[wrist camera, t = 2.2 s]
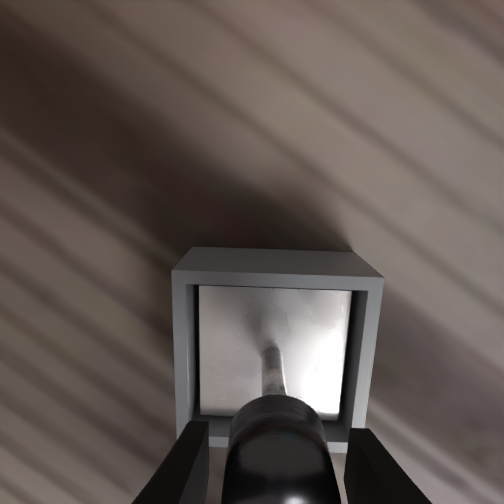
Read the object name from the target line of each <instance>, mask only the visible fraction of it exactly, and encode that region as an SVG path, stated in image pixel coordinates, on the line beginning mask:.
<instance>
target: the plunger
mask: <svg viewBox="0 0 504 504" xmlns="http://www.w3.org/2000/svg"><path fill="white" fill-rule="evenodd" d="M351 294H352V291H351V290H338V289H311V288H284V287H256V286H229V285H202V284H200V285H199V323H200V415H220V416H234V418H233V420H232V422H231V426H230V432H229V440H228V449H227V457H226V466H225V474H224V482H223V491H222V500H221V504H341V498H340V493H339V489H338V485H337V481H336V477H335V473H334V469H333V465H332V461H331V457H330V452H329V448H328V444H327V440H326V436H325V432H324V428H323V425H322V422H321V420H334V421H338V413H339V403H340V394H341V385H342V376H343V367H344V358H345V349H346V340H347V331H348V321H349V312H350V303H351Z"/></svg>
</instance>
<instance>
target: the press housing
mask: <svg viewBox="0 0 504 504" xmlns="http://www.w3.org/2000/svg"><path fill="white" fill-rule="evenodd" d="M171 277H172V308H173V340H174V371H175V403H176V434H177V439H178V438H179V436H180V434H181V433H182V431H183V429H184V428H185V426H186V424H187V423H188V422H189V421H209V447H227V448H228V440H229V432H230V426H231V422H232V420H233V418H234V416H220V415H200V323H199V285H200V284H202V285H229V286H256V287H284V288H311V289H338V290H351V291H352V294H351V303H350V312H349V321H348V331H347V340H346V349H345V358H344V367H343V376H342V385H341V394H340V403H339V413H338V421H334V420H321V422H322V425H323V428H324V432H325V436H326V440H327V444H328V448H329V452H336V453H347V447H348V438H349V430H350V428H364V427H365V419H366V412H367V404H368V397H369V389H370V382H371V374H372V367H373V359H374V352H375V344H376V337H377V330H378V322H379V315H380V307H381V300H382V292H383V285H384V277H383V276H382V275H381V274H380V273H378V272H377V271H376V270H375V269H374V268H373V267H371V266H370V265H369V264H368V263H367V262H365V261H364V260H363V259H362V258H361V257H360V256H358V255H357V254H356V253H355V252H339V251H310V250H281V249H252V248H223V247H194V246H193V247H192V248H191V249H190V250H189V251H188V252H187V253H186V254H185V256H184V257H183V258H182V259H181V260H180V261H179V262H178V263H177V264H176V265H175V266H174V268H173V269H172V270H171Z"/></svg>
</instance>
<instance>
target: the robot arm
mask: <svg viewBox="0 0 504 504" xmlns="http://www.w3.org/2000/svg"><path fill="white" fill-rule="evenodd" d="M208 477H209V421H189V422H188V423H187V424H186V426H185V428H184V429H183V431H182V433H181V434H180V436H179V438H178V439H177V441H176V443H175V444H174V446H173V447H172V449H171V450H170V452H169V453H168V455H167V457H166V458H165V459H164V461H163V462H162V464H161V465H160V467H159V468H158V469H157V471H156V472H155V474H154V475H153V476H152V478H151V479H150V481H149V482H148V483H147V485H146V486H145V487H144V488H143V490H142V491H141V492H140V494H139V495H138V496H137V497H136V499H135V500H134V501H133V503H132V504H205V499H206V492H207V484H208ZM344 484H345V489H346V495H347V500H348V504H432V503H431V502H430V501H429V500H428V498H427V497H426V496H425V495H424V494H423V493H422V492H421V490H420V489H419V488H418V487H417V486H416V485H415V484H414V482H413V481H412V480H411V479H410V478H409V477H408V475H407V474H406V473H405V472H404V471H403V469H402V468H401V467H400V466H399V465H398V463H397V462H396V461H395V460H394V459H393V457H392V456H391V455H390V454H389V452H388V451H387V450H386V449H385V447H384V446H383V445H382V444H381V442H380V441H379V440H378V439H377V437H376V436H375V435H374V434H373V433H372V431H371V430H370V429H369V428H350V430H349V438H348V447H347V455H346V463H345V472H344Z"/></svg>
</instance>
